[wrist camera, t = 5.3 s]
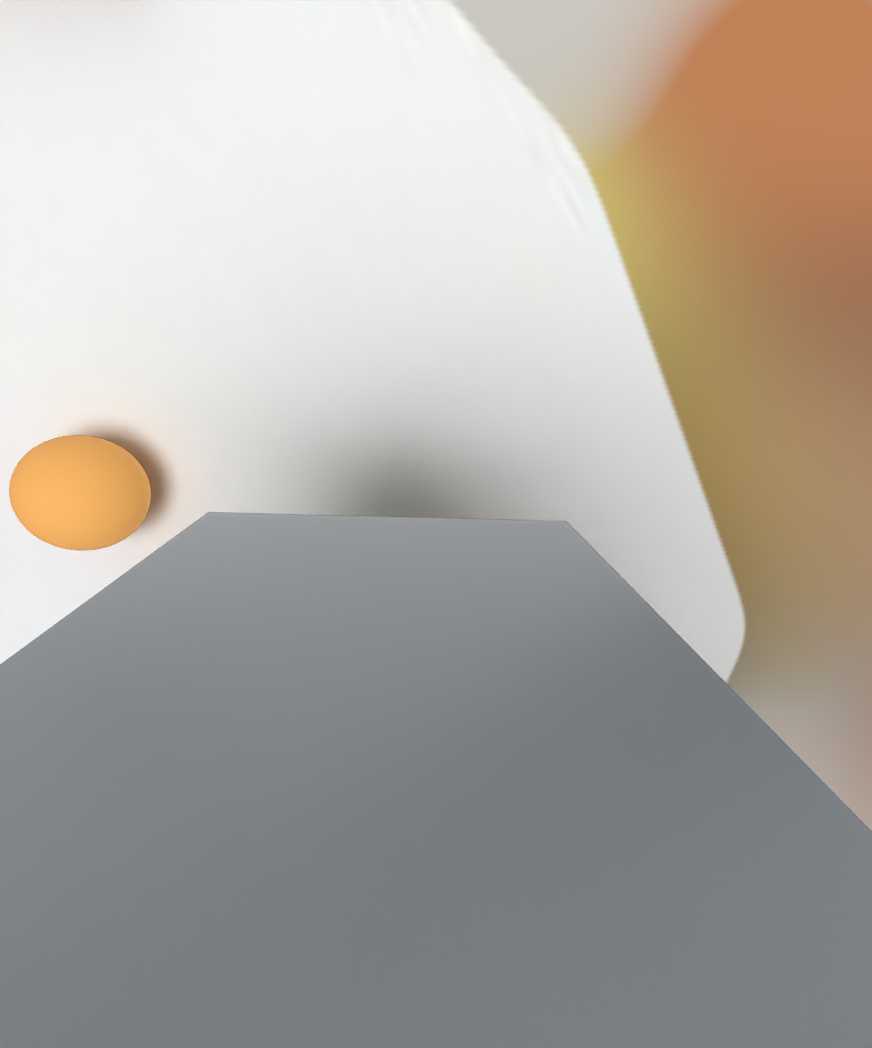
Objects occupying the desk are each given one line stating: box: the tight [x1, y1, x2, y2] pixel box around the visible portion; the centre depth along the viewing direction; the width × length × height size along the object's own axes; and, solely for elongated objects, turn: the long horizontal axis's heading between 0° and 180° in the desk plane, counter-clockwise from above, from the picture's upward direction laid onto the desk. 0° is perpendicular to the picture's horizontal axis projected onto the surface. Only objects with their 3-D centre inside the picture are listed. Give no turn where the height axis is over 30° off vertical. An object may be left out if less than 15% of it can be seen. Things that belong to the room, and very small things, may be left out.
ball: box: [9, 435, 151, 550], centre depth 21 cm, size 5×5×5 cm
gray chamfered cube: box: [0, 512, 872, 1048], centre depth 8 cm, size 8×8×9 cm
